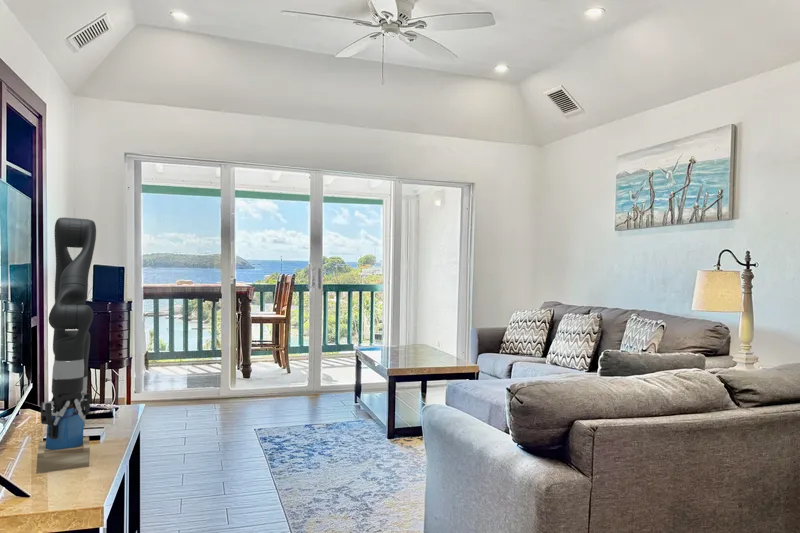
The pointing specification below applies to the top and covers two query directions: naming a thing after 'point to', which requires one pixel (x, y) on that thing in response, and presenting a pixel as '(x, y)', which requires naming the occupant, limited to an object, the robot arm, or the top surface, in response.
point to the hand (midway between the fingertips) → (65, 434)
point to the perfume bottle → (67, 431)
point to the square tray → (62, 457)
